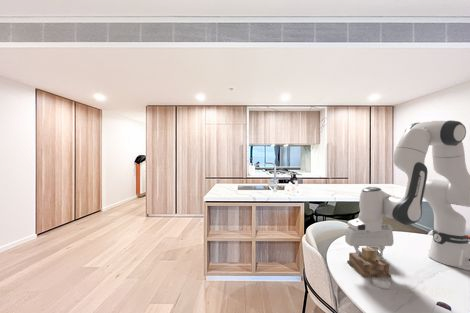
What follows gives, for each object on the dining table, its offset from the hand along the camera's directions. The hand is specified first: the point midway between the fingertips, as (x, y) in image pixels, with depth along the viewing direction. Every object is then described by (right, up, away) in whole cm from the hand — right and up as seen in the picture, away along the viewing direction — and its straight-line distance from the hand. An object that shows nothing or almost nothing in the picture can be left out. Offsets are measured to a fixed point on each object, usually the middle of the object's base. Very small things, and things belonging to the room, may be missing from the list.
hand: (368, 254), depth 98 cm
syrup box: (+11, -7, +14) cm, 19 cm away
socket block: (0, -7, 0) cm, 7 cm away
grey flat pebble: (-2, -7, -11) cm, 13 cm away
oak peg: (0, -6, 0) cm, 6 cm away
